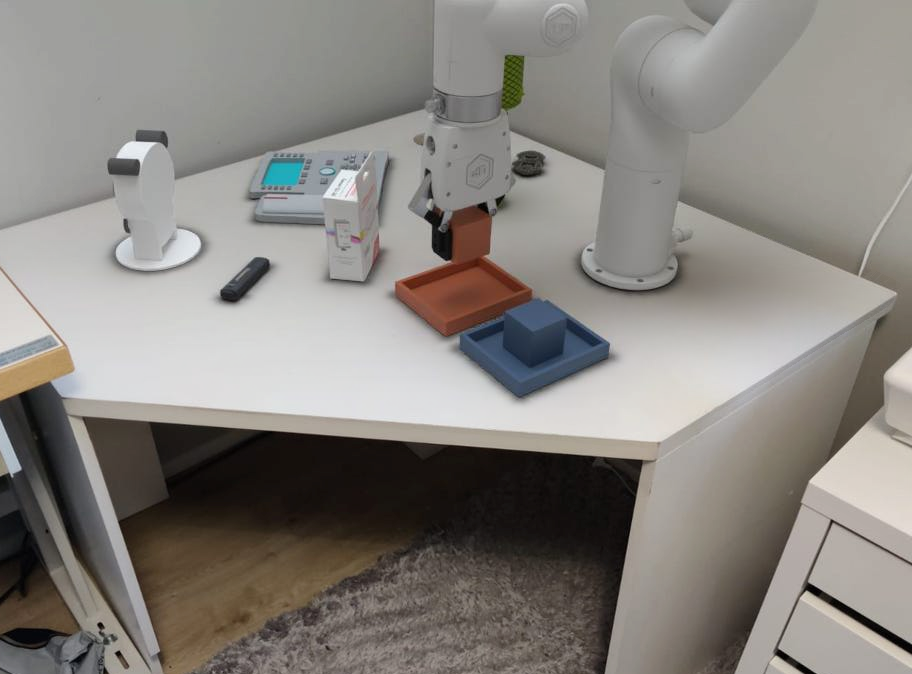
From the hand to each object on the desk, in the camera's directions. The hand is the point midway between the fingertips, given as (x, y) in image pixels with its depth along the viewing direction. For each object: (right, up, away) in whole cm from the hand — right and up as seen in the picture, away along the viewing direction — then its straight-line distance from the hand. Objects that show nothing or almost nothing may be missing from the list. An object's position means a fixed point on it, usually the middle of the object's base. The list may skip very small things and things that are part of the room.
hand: (461, 248), depth 108 cm
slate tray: (+8, -13, -4) cm, 16 cm away
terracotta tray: (0, -6, +5) cm, 7 cm away
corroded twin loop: (+12, +19, +36) cm, 42 cm away
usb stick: (-28, -3, +8) cm, 29 cm away
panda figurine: (-41, +2, +15) cm, 44 cm away
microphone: (+5, +11, +26) cm, 28 cm away
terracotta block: (0, 0, 0) cm, 0 cm away
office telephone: (-21, +14, +29) cm, 39 cm away
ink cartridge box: (-14, -1, +11) cm, 18 cm away
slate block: (+8, -13, -5) cm, 16 cm away
